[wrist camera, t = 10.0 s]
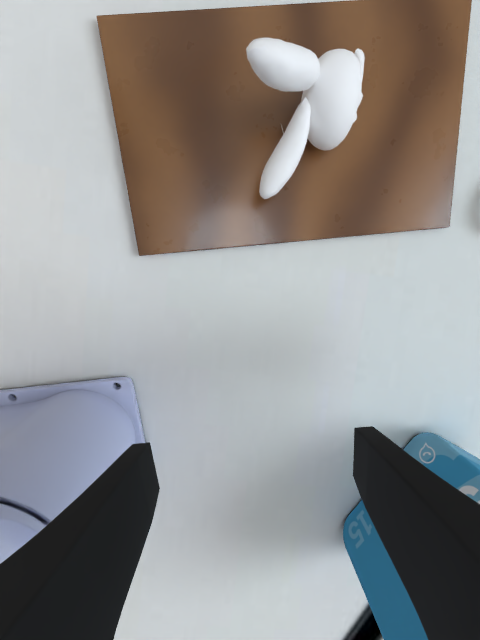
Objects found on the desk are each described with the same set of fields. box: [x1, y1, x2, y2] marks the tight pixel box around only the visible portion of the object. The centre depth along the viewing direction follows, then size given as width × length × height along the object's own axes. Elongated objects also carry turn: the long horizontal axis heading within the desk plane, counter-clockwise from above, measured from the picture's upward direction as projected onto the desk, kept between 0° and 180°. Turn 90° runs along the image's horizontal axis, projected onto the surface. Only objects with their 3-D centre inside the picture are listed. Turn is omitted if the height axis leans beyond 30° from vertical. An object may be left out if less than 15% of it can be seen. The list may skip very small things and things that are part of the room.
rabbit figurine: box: [246, 38, 365, 199], centre depth 14 cm, size 6×4×8 cm
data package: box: [343, 433, 480, 640], centre depth 17 cm, size 12×4×12 cm, turn 149°
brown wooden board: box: [97, 0, 472, 256], centre depth 16 cm, size 20×12×1 cm, turn 95°
